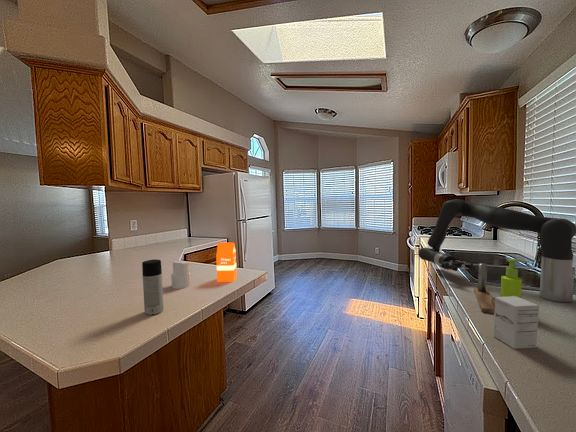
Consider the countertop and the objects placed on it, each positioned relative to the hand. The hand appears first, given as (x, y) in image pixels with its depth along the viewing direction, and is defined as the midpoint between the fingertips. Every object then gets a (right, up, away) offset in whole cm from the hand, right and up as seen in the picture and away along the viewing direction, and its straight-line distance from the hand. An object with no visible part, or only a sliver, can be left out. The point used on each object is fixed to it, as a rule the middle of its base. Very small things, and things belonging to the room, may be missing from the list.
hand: (465, 269), depth 131 cm
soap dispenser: (-1, -11, -28) cm, 30 cm away
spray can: (-136, -12, -23) cm, 138 cm away
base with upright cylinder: (+1, -10, -20) cm, 22 cm away
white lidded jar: (-137, -10, +8) cm, 138 cm away
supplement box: (-17, -13, -48) cm, 53 cm away
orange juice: (-116, -9, +17) cm, 118 cm away
